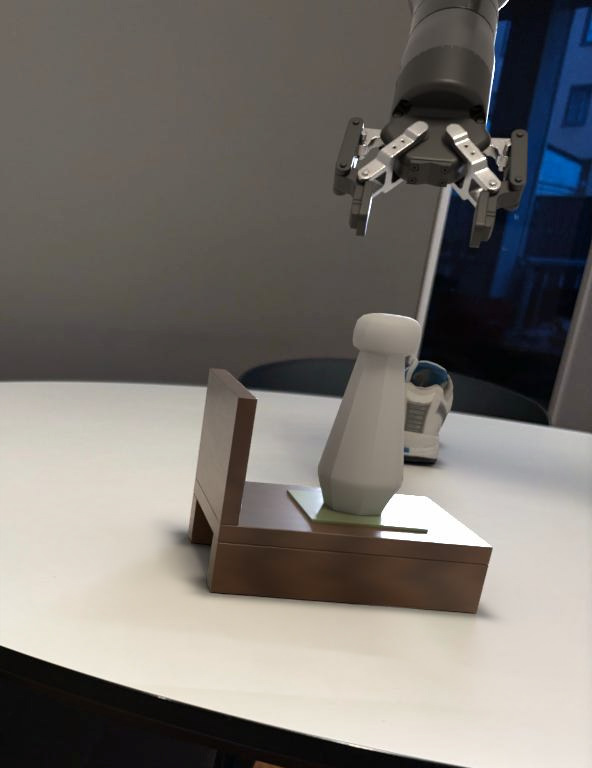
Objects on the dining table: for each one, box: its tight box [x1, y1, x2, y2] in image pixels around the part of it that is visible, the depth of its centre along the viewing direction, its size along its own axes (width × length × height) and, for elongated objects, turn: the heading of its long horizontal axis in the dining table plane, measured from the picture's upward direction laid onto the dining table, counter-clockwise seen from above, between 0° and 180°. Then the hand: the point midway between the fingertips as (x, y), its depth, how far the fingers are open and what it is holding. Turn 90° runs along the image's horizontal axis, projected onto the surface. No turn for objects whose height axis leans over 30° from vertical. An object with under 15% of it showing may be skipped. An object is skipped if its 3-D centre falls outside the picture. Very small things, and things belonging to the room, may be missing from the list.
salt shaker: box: [317, 312, 422, 515], centre depth 69 cm, size 6×6×13 cm
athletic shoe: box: [404, 356, 454, 463], centre depth 122 cm, size 10×23×12 cm, turn 174°
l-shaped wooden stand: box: [187, 367, 493, 614], centre depth 70 cm, size 18×13×13 cm
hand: (418, 233), depth 77 cm, fingers open, 8 cm apart
